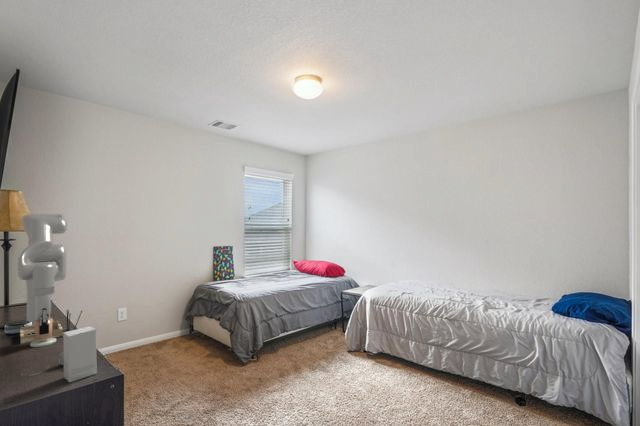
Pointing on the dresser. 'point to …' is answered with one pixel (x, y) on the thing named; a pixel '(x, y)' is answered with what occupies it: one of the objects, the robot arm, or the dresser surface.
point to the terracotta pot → (43, 336)
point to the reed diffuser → (61, 358)
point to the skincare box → (79, 353)
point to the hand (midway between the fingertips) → (43, 331)
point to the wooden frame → (31, 329)
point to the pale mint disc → (42, 342)
